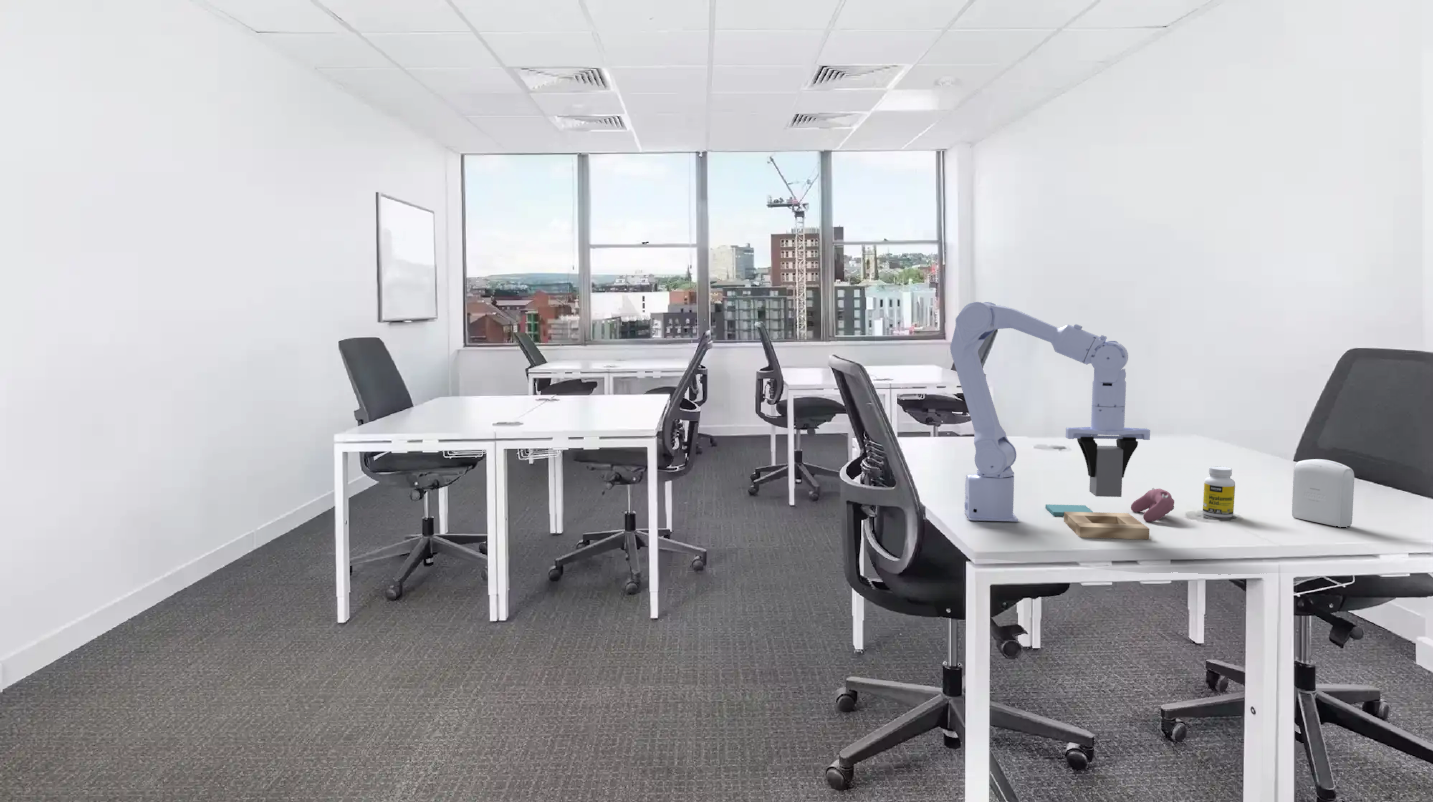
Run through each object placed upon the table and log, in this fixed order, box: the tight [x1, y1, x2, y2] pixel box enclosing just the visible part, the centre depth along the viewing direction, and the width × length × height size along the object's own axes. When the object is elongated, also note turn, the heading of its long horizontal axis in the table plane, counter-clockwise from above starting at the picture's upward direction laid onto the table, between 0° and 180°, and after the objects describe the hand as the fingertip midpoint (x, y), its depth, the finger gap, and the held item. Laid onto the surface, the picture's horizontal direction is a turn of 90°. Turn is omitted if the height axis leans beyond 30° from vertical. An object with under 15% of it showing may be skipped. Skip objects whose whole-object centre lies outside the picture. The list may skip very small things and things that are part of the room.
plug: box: [1088, 445, 1123, 498], centre depth 157 cm, size 4×4×9 cm
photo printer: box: [1291, 458, 1355, 528], centre depth 161 cm, size 10×4×12 cm, turn 20°
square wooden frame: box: [1063, 511, 1150, 540], centre depth 158 cm, size 12×12×2 cm
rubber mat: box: [1044, 504, 1094, 517], centre depth 173 cm, size 8×7×1 cm
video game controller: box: [1130, 487, 1175, 523], centre depth 168 cm, size 10×5×7 cm, turn 169°
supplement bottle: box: [1202, 465, 1236, 519], centre depth 168 cm, size 5×5×10 cm
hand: (1105, 476), depth 157 cm, fingers closed on plug, 4 cm apart
